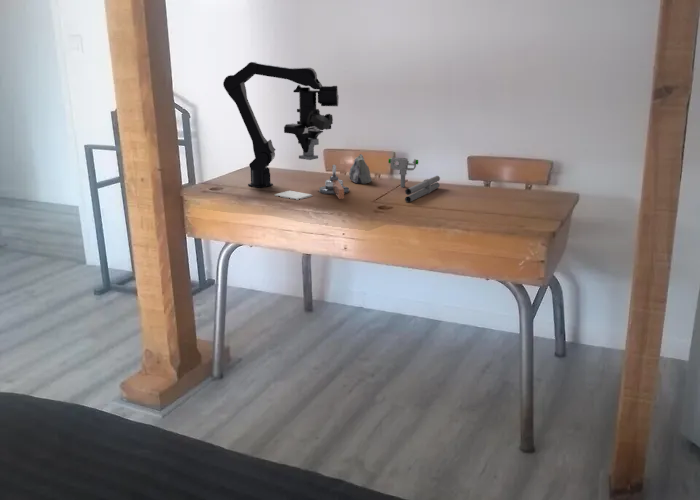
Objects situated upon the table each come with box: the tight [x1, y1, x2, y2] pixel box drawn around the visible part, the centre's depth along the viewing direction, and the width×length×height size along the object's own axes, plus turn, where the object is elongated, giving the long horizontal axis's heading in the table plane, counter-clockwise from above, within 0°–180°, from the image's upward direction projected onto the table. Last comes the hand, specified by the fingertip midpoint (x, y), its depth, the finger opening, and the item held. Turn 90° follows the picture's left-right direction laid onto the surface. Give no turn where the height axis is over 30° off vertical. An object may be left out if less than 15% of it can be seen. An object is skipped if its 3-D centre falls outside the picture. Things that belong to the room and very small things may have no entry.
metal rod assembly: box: [404, 175, 441, 203], centre depth 234 cm, size 26×3×5 cm, turn 152°
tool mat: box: [274, 190, 313, 201], centre depth 231 cm, size 10×7×1 cm
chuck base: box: [318, 185, 350, 196], centre depth 238 cm, size 10×10×1 cm
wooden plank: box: [324, 164, 345, 200], centre depth 230 cm, size 20×6×8 cm, turn 9°
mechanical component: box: [388, 157, 419, 188], centre depth 245 cm, size 3×10×10 cm, turn 78°
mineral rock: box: [348, 153, 373, 185], centre depth 255 cm, size 13×11×10 cm
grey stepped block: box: [297, 137, 320, 161], centre depth 242 cm, size 7×4×7 cm, turn 53°
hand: (308, 152), depth 242 cm, fingers closed on grey stepped block, 3 cm apart
